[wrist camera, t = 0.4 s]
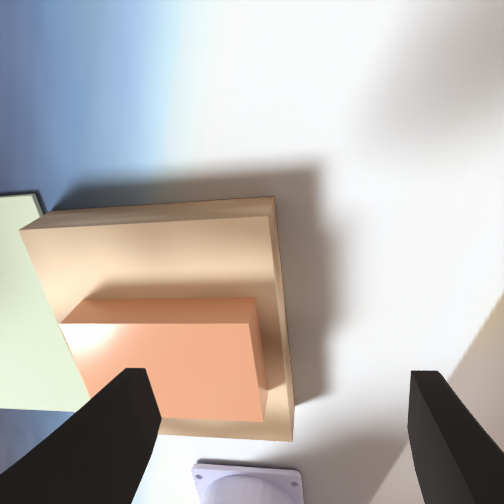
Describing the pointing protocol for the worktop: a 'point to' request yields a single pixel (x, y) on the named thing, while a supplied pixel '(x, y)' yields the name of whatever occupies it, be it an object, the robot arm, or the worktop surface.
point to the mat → (30, 325)
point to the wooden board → (176, 279)
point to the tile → (176, 352)
